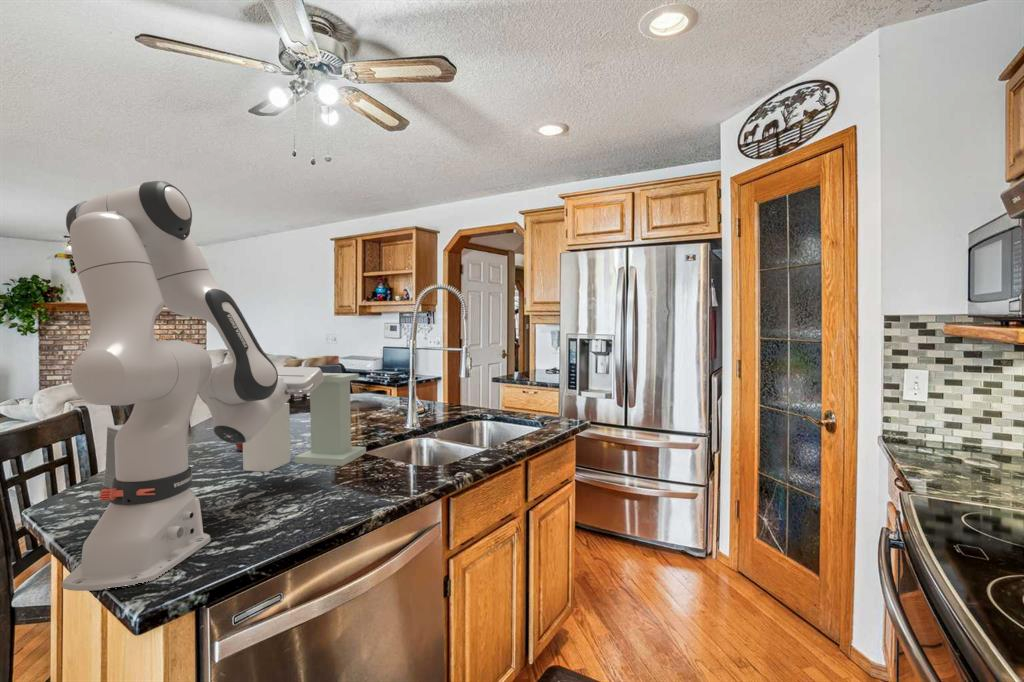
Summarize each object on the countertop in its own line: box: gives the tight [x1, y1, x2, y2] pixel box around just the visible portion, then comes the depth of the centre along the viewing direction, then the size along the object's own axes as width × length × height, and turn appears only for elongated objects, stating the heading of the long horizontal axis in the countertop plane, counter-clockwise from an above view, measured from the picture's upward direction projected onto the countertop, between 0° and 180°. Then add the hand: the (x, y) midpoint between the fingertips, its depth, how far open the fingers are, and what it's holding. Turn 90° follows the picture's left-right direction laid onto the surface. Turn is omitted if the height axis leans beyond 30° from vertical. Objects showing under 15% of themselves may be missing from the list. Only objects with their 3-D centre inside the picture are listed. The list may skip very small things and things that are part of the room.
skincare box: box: [104, 424, 124, 489], centre depth 125 cm, size 8×7×16 cm
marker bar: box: [285, 355, 340, 367], centre depth 139 cm, size 20×4×2 cm, turn 168°
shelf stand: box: [293, 372, 367, 467], centre depth 150 cm, size 14×16×26 cm
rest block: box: [242, 402, 292, 473], centre depth 142 cm, size 10×8×18 cm
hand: (300, 361), depth 133 cm, fingers closed on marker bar, 2 cm apart
